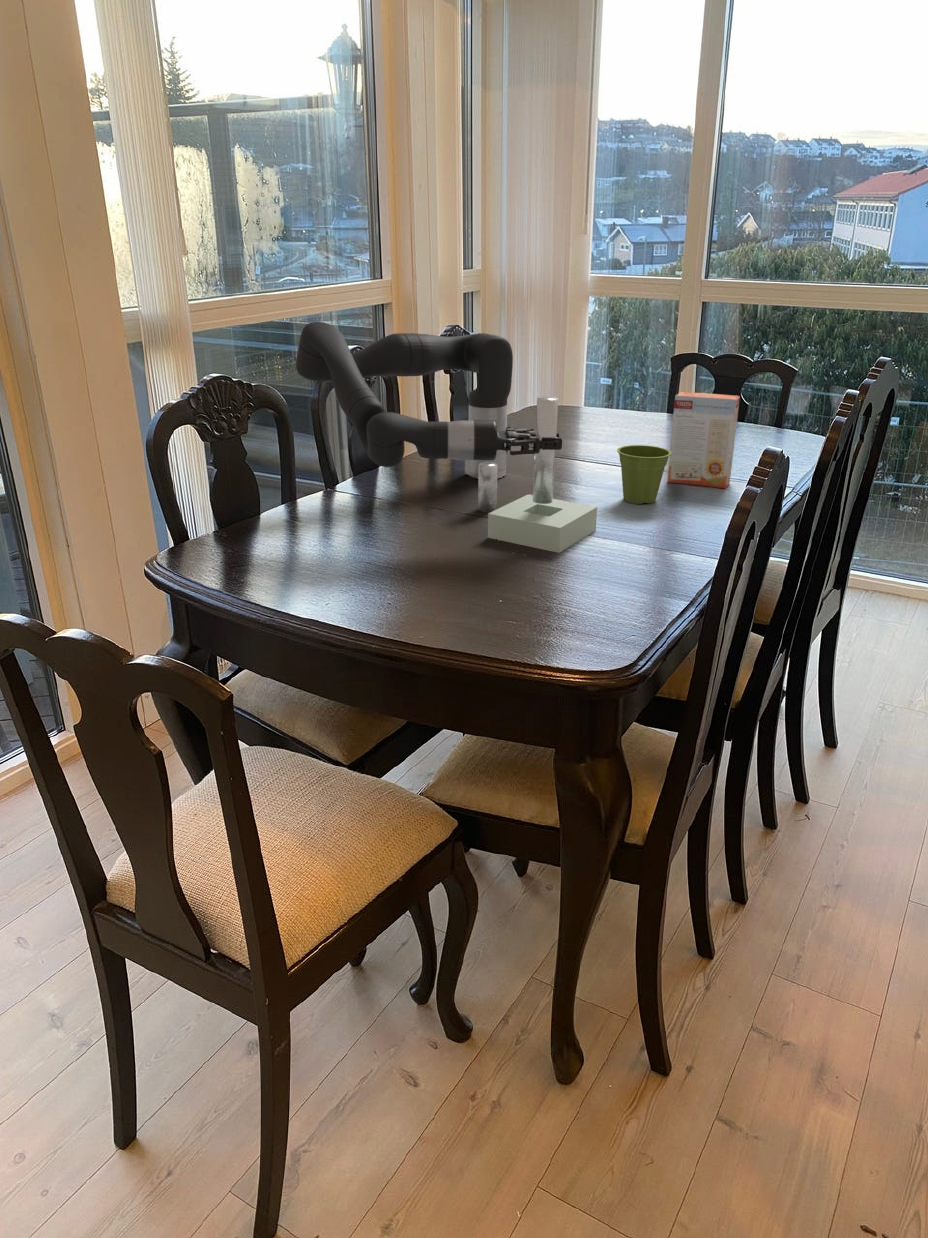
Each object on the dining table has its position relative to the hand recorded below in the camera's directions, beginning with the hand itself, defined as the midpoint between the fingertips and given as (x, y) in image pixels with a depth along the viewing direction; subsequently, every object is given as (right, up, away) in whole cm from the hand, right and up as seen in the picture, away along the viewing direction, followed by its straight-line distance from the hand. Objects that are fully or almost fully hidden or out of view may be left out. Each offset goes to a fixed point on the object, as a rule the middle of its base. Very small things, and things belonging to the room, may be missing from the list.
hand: (559, 440), depth 174 cm
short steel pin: (-13, -11, +23) cm, 28 cm away
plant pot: (+21, -8, +30) cm, 37 cm away
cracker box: (+38, -2, +43) cm, 57 cm away
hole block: (-3, -17, +8) cm, 19 cm away
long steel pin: (-3, -11, +5) cm, 12 cm away
